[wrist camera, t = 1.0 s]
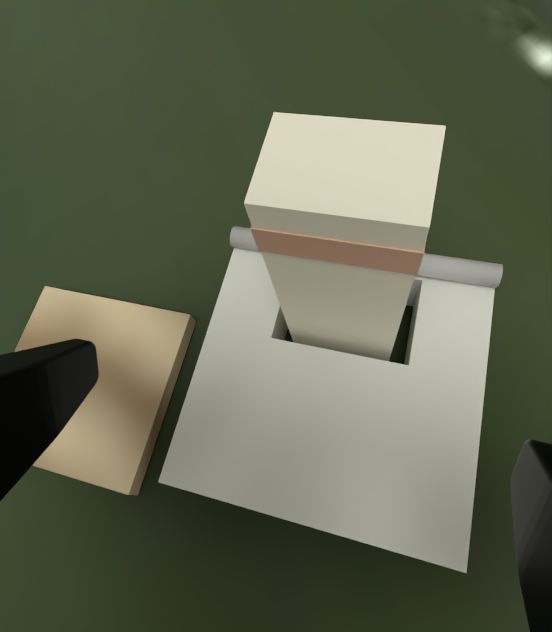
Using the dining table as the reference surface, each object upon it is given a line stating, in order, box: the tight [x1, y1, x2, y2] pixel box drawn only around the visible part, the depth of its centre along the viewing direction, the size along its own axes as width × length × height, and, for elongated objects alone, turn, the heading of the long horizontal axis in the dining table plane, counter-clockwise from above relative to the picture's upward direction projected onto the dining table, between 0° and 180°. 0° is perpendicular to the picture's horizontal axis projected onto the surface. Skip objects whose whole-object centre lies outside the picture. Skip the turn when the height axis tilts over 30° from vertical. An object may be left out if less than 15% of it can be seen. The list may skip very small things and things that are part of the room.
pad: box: [14, 286, 196, 495], centre depth 23 cm, size 9×9×1 cm
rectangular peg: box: [244, 112, 446, 361], centre depth 17 cm, size 3×5×12 cm
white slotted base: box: [158, 226, 503, 573], centre depth 20 cm, size 12×12×4 cm
